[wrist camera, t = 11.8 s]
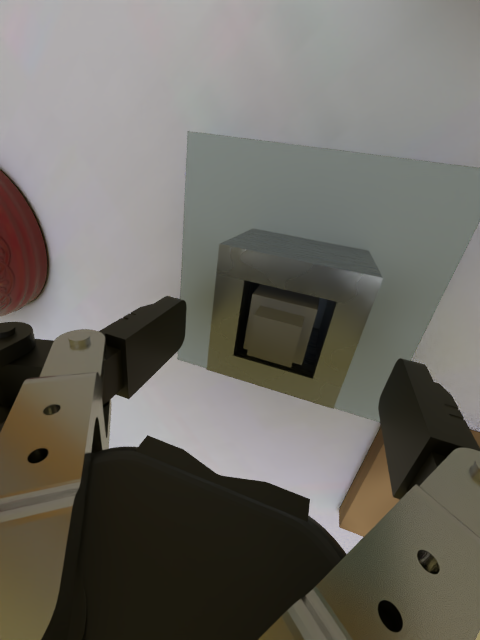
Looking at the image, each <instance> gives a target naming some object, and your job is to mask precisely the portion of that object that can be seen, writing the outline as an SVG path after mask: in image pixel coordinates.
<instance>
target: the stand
mask: <svg viewBox="0 0 480 640" xmlns="http://www.w3.org/2000/svg"><path fill="white" fill-rule="evenodd" d="M470 431H471V432H472V434H473V436H474V438H475V440H476V442H477V444H478V446H479V447H480V432H476V431H473V430H470ZM399 501H400V500H399V499H397V498H394V497H393V495H392V489H391V483H390V477H389V471H388V465H387V459H386V453H385V447H384V441H383V435H382V429H381V428H380V430H379V431H378V433H377V435H376V437H375V439H374V441H373V443H372V445H371V447H370V449H369V451H368V453H367V455H366V457H365V459H364V461H363V463H362V465H361V467H360V469H359V471H358V473H357V475H356V477H355V479H354V481H353V483H352V485H351V487H350V489H349V491H348V493H347V495H346V497H345V499H344V501H343V503H342V505H341V507H340V509H339V527H340V528H343V529H345V530H348V531H351V532H353V533H356V534H358V535H361V536H363V537H364V536H365V535H366V534H367V533H368V532H369V531H370V530H371V529H372V528H373V527H374V526H375V525H376V524H377V523H378V522H379V521H380V520H381V519H382V518H383V517H384V516H385V515H386V514H387V513H388V512H389V511H390V510H391V509H392V508H393V507H394V506H395V505H396V504H397V503H398V502H399Z"/></svg>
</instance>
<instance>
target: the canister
mask: <svg viewBox="0 0 480 640" xmlns="http://www.w3.org/2000/svg"><path fill="white" fill-rule="evenodd" d="M46 276H47V255H46V249H45V244H44V240H43V237H42V234H41V231H40V228H39V225H38V223H37V221H36V218H35V216H34V214H33V212H32V211H31V209H30V207H29V205H28V204H27V202H26V200H25V199H24V197H23V196H22V194H21V193H20V192H19V190H18V189H17V188H16V186H15V185H14V184H13V183H12V182H11V181H10V179H9V178H8V177H7V176H6V175H5V174H4V173H3V172H1V171H0V316H4V315H7V314H9V313H11V312H14V311H17V310H19V309H21V308H22V307H23V306H25V305H26V304H27V303H29V302H31V301H33V300H34V299H35V298H36V297H37V296H38V295H39V294H40V293H41V291H42V289H43V287H44V284H45V281H46Z"/></svg>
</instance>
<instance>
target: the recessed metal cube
mask: <svg viewBox="0 0 480 640" xmlns="http://www.w3.org/2000/svg"><path fill="white" fill-rule="evenodd" d="M382 280H383V277H382V275H381V273H380V271H379V269H378V267H377V265H376V263H375V261H374V259H373V257H372V256H371V254H370V252H369V251H368V250H363V249H358V248H353V247H347V246H342V245H337V244H332V243H327V242H321V241H316V240H311V239H306V238H301V237H295V236H290V235H285V234H280V233H274V232H269V231H264V230H259V229H254V228H252V229H250V230H248V231H246V232H244V233H242V234H239V235H237V236H235V237H233V238H231V239H229V240H226V241H224V242H222V243H220V244H219V251H218V261H217V271H216V281H215V291H214V301H213V311H212V321H211V331H210V340H209V350H208V360H207V370H210V371H214V372H217V373H220V374H223V375H227V376H230V377H233V378H236V379H239V380H243V381H246V382H249V383H252V384H256V385H259V386H262V387H265V388H268V389H272V390H275V391H278V392H281V393H284V394H288V395H291V396H294V397H297V398H301V399H304V400H307V401H310V402H313V403H317V404H320V405H323V406H326V407H329V408H334V406H335V403H336V401H337V398H338V395H339V393H340V390H341V387H342V385H343V382H344V380H345V377H346V374H347V372H348V369H349V366H350V364H351V361H352V359H353V356H354V353H355V351H356V348H357V345H358V343H359V340H360V337H361V335H362V332H363V330H364V327H365V324H366V322H367V319H368V316H369V314H370V311H371V309H372V306H373V303H374V301H375V298H376V295H377V293H378V290H379V288H380V285H381V282H382ZM260 284H263V285H267V286H271V287H276V288H280V289H284V290H289V291H293V292H297V293H301V294H306V295H310V296H314V297H319V298H323V299H327V300H328V301H327V305H326V308H325V311H324V315H323V318H322V321H321V325H320V328H319V329H318V328H314V327H313V328H312V331H311V335H310V338H309V342H308V345H307V349H306V352H305V355H304V359H303V362H302V365H299V364H296V363H292V366H291V368H290V367H287V366H283V365H280V364H277V363H273V362H270V361H266V360H263V359H259V358H256V357H253V356H249V355H247V352H248V350H247V349H244V348H243V347H244V341H245V335H246V329H247V323H248V317H249V311H250V306H251V300H252V294H253V293H254V291H255V290H256V289H257V288H258V286H259V285H260Z"/></svg>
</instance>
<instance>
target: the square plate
mask: <svg viewBox="0 0 480 640" xmlns="http://www.w3.org/2000/svg"><path fill="white" fill-rule="evenodd" d="M479 221H480V168H476V167H468V166H460V165H452V164H444V163H436V162H428V161H420V160H412V159H404V158H396V157H388V156H381V155H373V154H365V153H357V152H349V151H341V150H333V149H325V148H317V147H309V146H301V145H293V144H285V143H277V142H269V141H261V140H254V139H246V138H238V137H230V136H222V135H214V134H206V133H198V132H190V131H188V136H187V159H186V181H185V203H184V226H183V248H182V270H181V292H180V299H181V300H184V301H185V302H186V305H187V310H186V329H185V339H184V342H183V344H182V346H181V348H180V349H179V350H178V360H181V361H185V362H188V363H191V364H194V365H198V366H201V367H204V368H207V360H208V350H209V340H210V331H211V321H212V311H213V301H214V291H215V281H216V271H217V261H218V251H219V244H220V243H222V242H224V241H226V240H229V239H231V238H233V237H235V236H237V235H239V234H242V233H244V232H246V231H248V230H250V229H252V228H254V229H259V230H264V231H269V232H274V233H280V234H285V235H290V236H295V237H301V238H306V239H311V240H316V241H321V242H327V243H332V244H337V245H342V246H347V247H353V248H358V249H363V250H368V251H369V252H370V254H371V256H372V257H373V259H374V261H375V263H376V265H377V267H378V269H379V271H380V273H381V275H382V277H383V280H382V282H381V285H380V288H379V290H378V293H377V295H376V298H375V301H374V303H373V306H372V309H371V311H370V314H369V316H368V319H367V322H366V324H365V327H364V330H363V332H362V335H361V337H360V340H359V343H358V345H357V348H356V351H355V353H354V356H353V359H352V361H351V364H350V366H349V369H348V372H347V374H346V377H345V380H344V382H343V385H342V387H341V390H340V393H339V395H338V398H337V401H336V403H335V406H334V408H335V409H338V410H342V411H345V412H348V413H351V414H355V415H358V416H361V417H364V418H367V419H371V420H374V421H377V422H380V417H379V411H378V406H379V400H380V396H381V393H382V391H383V389H384V387H385V385H386V382H387V380H388V378H389V376H390V374H391V372H392V369H393V367H394V365H395V363H396V362H397V360H398V359H400V358H402V359H405V360H409V361H410V360H411V358H412V356H413V354H414V352H415V350H416V348H417V346H418V344H419V342H420V340H421V338H422V336H423V334H424V332H425V330H426V328H427V326H428V324H429V322H430V320H431V318H432V316H433V314H434V312H435V310H436V308H437V306H438V304H439V302H440V300H441V298H442V296H443V294H444V292H445V290H446V288H447V286H448V284H449V282H450V280H451V278H452V276H453V274H454V272H455V270H456V268H457V266H458V264H459V262H460V260H461V258H462V256H463V254H464V252H465V250H466V248H467V246H468V244H469V241H470V239H471V237H472V235H473V233H474V231H475V229H476V227H477V225H478V223H479ZM327 301H328V300H327V299H323V298H319V297H314V296H310V295H306V294H301V293H297V292H293V291H289V290H284V289H280V288H276V287H271V286H267V285H263V284H260V285H259V286H258V288H257V289H256V290H255V291H254V293H253V294H252V300H251V306H250V311H249V317H248V323H247V329H246V335H245V341H244V347H243V348H244V349H247V350H248V352H247V355H249V356H253V357H256V358H259V359H263V360H266V361H270V362H273V363H277V364H280V365H283V366H287V367H290V368H291V366H292V363H296V364H299V365H302V362H303V359H304V355H305V352H306V349H307V345H308V342H309V338H310V335H311V331H312V328H313V327H314V328H318V329H319V328H320V325H321V321H322V318H323V315H324V311H325V308H326V305H327Z"/></svg>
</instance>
